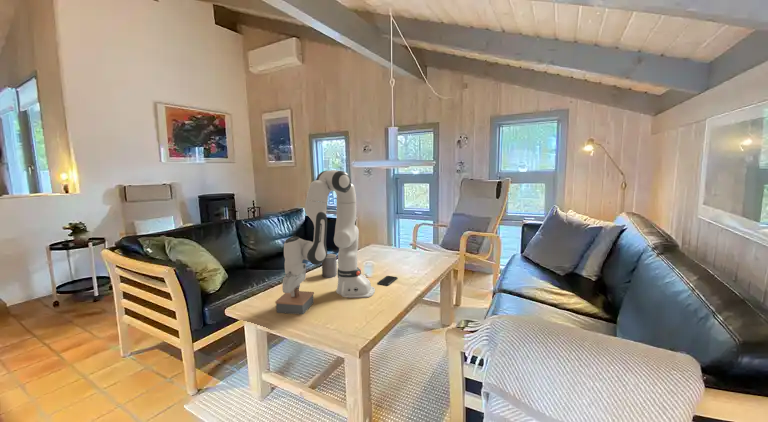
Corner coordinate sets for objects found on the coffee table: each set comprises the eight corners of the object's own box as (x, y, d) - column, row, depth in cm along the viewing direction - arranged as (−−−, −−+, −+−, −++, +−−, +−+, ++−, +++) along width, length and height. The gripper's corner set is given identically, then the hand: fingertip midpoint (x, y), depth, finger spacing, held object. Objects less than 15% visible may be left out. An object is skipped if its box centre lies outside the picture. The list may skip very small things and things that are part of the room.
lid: (313, 293, 179) (313, 284, 178) (302, 305, 165) (302, 295, 164) (288, 292, 181) (287, 283, 180) (275, 303, 167) (274, 293, 166)
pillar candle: (319, 274, 225) (319, 253, 222) (333, 271, 230) (332, 250, 228) (326, 279, 217) (325, 256, 214) (339, 275, 222) (339, 254, 220)
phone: (398, 277, 216) (388, 284, 203) (398, 278, 217) (388, 286, 203) (387, 275, 220) (376, 282, 207) (387, 277, 220) (376, 284, 207)
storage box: (313, 303, 179) (313, 293, 179) (303, 315, 166) (302, 305, 165) (289, 302, 182) (288, 292, 181) (276, 313, 168) (276, 303, 167)
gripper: (290, 276, 160) (292, 303, 162) (307, 263, 180) (308, 287, 182) (278, 275, 161) (279, 302, 163) (296, 262, 181) (297, 286, 183)
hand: (295, 294), depth 173 cm, fingers closed on lid, 3 cm apart
